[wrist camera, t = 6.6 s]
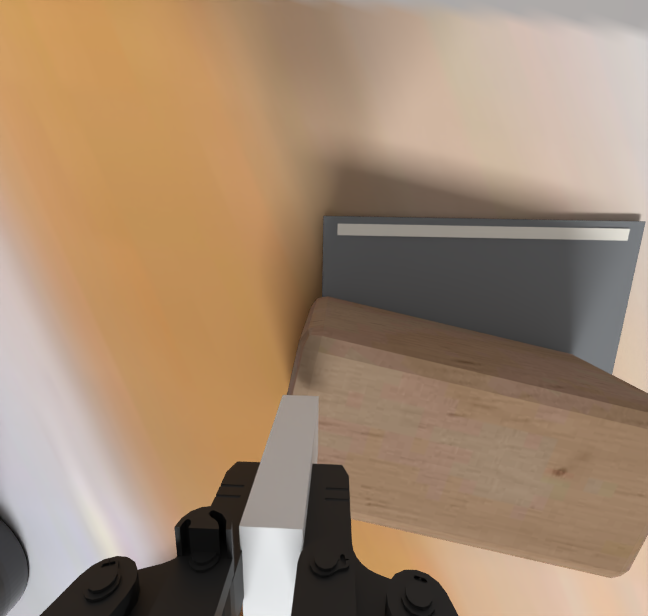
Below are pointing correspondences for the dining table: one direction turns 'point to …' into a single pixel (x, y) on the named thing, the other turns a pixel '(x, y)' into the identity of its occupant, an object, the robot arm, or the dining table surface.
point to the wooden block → (478, 437)
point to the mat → (492, 276)
